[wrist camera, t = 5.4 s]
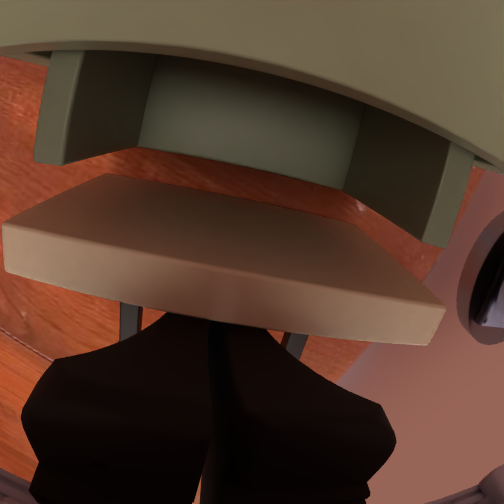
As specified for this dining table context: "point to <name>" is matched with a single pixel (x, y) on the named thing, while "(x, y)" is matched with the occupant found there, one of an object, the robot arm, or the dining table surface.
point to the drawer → (235, 200)
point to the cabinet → (307, 50)
